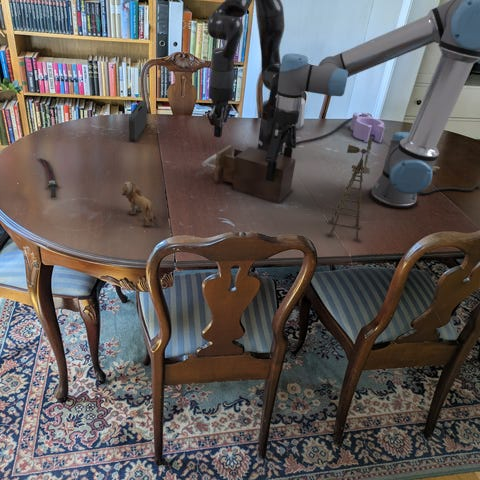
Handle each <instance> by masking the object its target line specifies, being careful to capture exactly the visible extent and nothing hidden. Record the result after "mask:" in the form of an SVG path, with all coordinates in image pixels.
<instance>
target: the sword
mask: <svg viewBox="0 0 480 480" xmlns="http://www.w3.org/2000/svg"><path fill="white" fill-rule="evenodd" d="M40 161H41V162H42V163H43V165H44V166H45V169H46V173H47V176H48V185H47V188H50V198H56V197H57V189H56V188H57V187H59V185H58V184H57V183H56V180H55V176H54V172H53V169H52V167H51V164H50V163H49V161H48V160H46V159H43V158H40Z"/></svg>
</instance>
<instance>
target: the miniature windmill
mask: <svg viewBox="0 0 480 480" xmlns="http://www.w3.org/2000/svg"><path fill="white" fill-rule="evenodd" d="M372 144H373V135H372V134H370V136H369V140H368V142H367V145H366V148H362V149H361V148H359V147H358V146H355V145H351V144H348V146H347V151H346V154H358V153H361V158H360V159H359V161H358V163H357V164H356V165H355V164H352V165H351V172H352V173H351V178H350V179H349V181H348V184H347V185H346V187H345V189H344V192H343V193H342V196H341V199H340V200H339V203H338V205H336V210H335V211H333V215H332V218H331V219H330V223H331V224H332V227H331V229H330V232H329V236H332V235H333V234H334V230H335V228H336V226H338V227H343V228H347V229H348V228H349V229H354V230H355V241H358V240H359V231H360V230H361V228H360V217H361V216H360V215H361V198H362V196H363V195H362V193H363V192H362V185H363V182H364V180H363V174H367V175H369V174H371V171H370V168H369V167H367V165H368V161H369V158H370V157H369V155H371V152H370V151H371V149H372ZM364 155H365V157H364ZM356 178H359V179H356ZM355 182H357V183H359V186H358V187H353V184H354V183H355ZM351 190H357V191H358V194H356V193H350V192H351ZM348 196H354V197H358V198H357V200H354V199H348ZM346 202H351V203H357V207H356V209H354V208H348V207H344V206H345V204H346ZM343 210H347V211H351V212H356V215H354V214H349V213H343V212H342V211H343ZM341 215H342V216H347V217H353V218H356V219H355V226H351V225H345V224H340V223H338V220H339V218H340V216H341Z"/></svg>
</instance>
